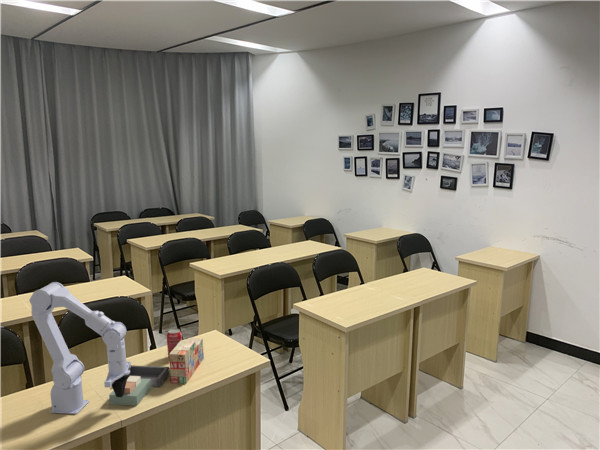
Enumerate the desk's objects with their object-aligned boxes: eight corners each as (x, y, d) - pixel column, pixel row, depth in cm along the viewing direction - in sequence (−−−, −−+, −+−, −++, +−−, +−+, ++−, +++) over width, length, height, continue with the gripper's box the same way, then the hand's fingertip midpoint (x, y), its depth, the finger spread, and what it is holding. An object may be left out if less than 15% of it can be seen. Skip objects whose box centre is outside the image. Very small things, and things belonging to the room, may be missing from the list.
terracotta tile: (119, 393, 161) (118, 387, 160) (124, 387, 165) (124, 382, 164) (130, 393, 160) (129, 388, 160) (135, 387, 164) (135, 382, 164)
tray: (118, 385, 173) (118, 377, 172) (130, 373, 182) (129, 365, 181) (159, 387, 171) (159, 378, 171) (169, 374, 180) (168, 366, 180)
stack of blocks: (189, 358, 195) (188, 330, 193) (204, 358, 194) (202, 331, 192) (170, 383, 174) (168, 353, 172) (186, 384, 173) (184, 354, 171)
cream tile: (125, 386, 165) (124, 381, 165) (130, 380, 169) (130, 375, 169) (136, 386, 165) (135, 381, 164) (140, 381, 169) (140, 376, 168)
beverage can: (176, 352, 200) (175, 326, 198) (186, 356, 196) (184, 330, 194) (165, 358, 195) (163, 331, 193) (174, 362, 191) (172, 335, 189)
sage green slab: (109, 404, 160) (109, 395, 160) (125, 386, 172) (125, 377, 171) (137, 405, 159) (136, 396, 159) (151, 387, 171) (150, 378, 170)
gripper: (117, 369, 147) (120, 408, 150) (137, 350, 161) (140, 385, 164) (96, 369, 148) (100, 407, 150) (118, 349, 162) (121, 384, 164)
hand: (120, 396), depth 157 cm, fingers closed
